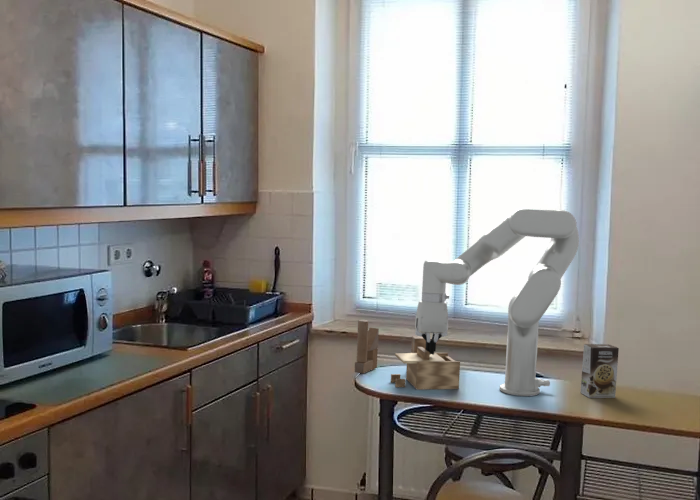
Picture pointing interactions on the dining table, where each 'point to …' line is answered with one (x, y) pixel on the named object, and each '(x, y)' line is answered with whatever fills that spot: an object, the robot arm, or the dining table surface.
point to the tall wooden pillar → (417, 343)
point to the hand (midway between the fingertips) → (430, 353)
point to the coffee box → (599, 370)
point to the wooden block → (366, 347)
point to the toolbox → (431, 374)
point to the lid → (418, 356)
